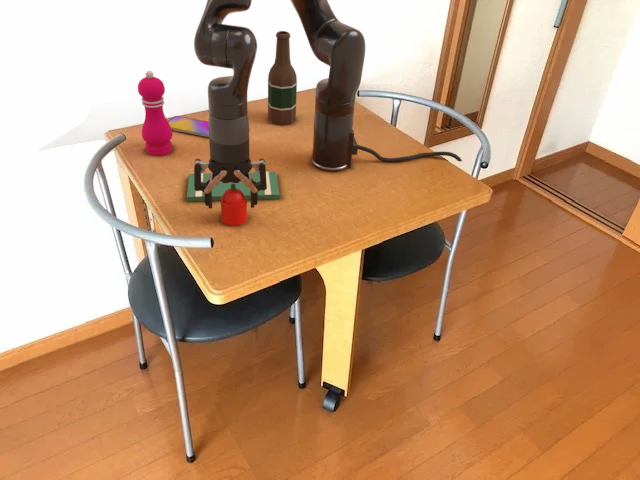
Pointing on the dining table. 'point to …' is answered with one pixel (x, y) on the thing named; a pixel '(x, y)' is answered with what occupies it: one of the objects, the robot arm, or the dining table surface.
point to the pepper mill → (154, 116)
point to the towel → (221, 187)
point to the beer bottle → (282, 84)
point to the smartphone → (189, 126)
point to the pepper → (234, 206)
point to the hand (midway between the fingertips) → (231, 206)
